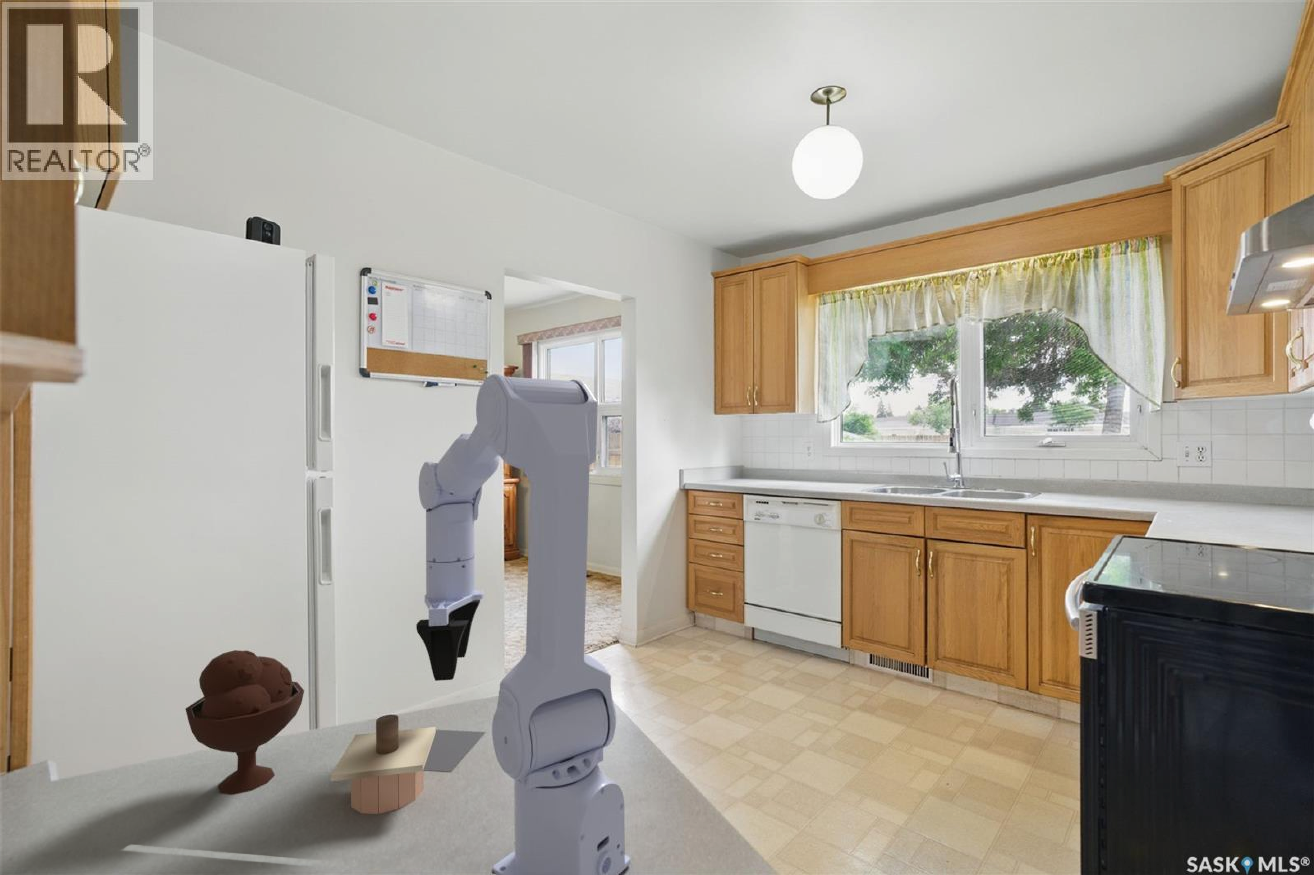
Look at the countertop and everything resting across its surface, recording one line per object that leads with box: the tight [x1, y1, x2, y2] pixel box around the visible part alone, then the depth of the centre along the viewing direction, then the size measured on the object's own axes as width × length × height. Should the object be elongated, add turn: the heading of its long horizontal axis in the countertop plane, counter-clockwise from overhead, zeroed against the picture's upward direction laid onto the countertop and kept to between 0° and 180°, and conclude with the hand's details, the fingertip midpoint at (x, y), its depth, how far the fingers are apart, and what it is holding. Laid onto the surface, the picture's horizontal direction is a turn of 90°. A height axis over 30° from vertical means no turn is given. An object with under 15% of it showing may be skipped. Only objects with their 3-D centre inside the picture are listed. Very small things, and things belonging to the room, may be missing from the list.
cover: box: [330, 714, 437, 782], centre depth 65 cm, size 9×9×4 cm
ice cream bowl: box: [185, 649, 305, 795], centre depth 68 cm, size 11×11×15 cm
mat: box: [423, 729, 486, 773], centre depth 74 cm, size 10×10×1 cm
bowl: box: [350, 771, 424, 815], centre depth 65 cm, size 7×7×4 cm
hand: (450, 667), depth 75 cm, fingers open, 7 cm apart
